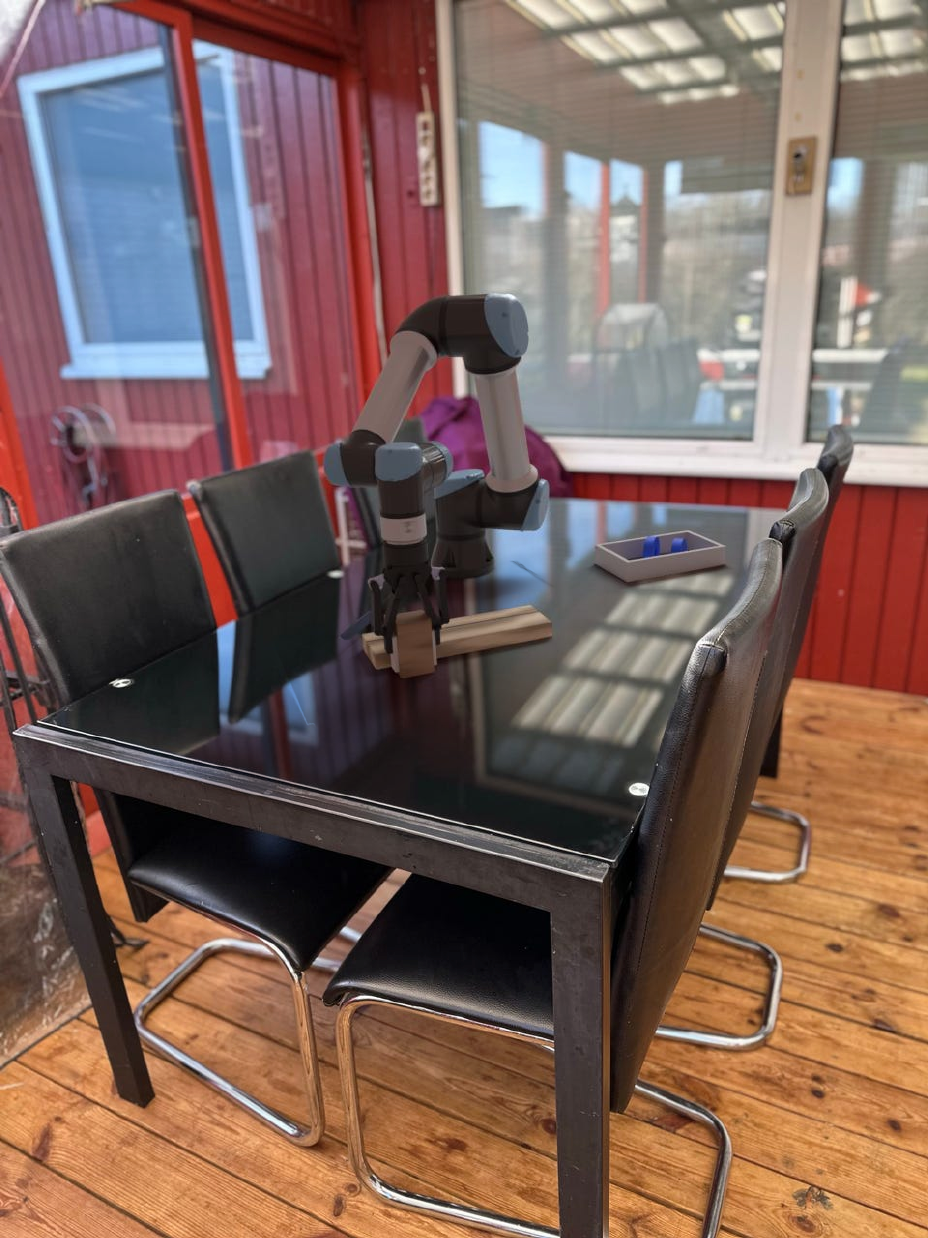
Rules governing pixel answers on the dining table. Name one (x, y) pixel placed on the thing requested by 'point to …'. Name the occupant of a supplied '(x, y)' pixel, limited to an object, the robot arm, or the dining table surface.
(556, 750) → the dining table surface
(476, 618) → the board
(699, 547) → the grey rectangular tray
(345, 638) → the knife
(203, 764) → the dining table surface
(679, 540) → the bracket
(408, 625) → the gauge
